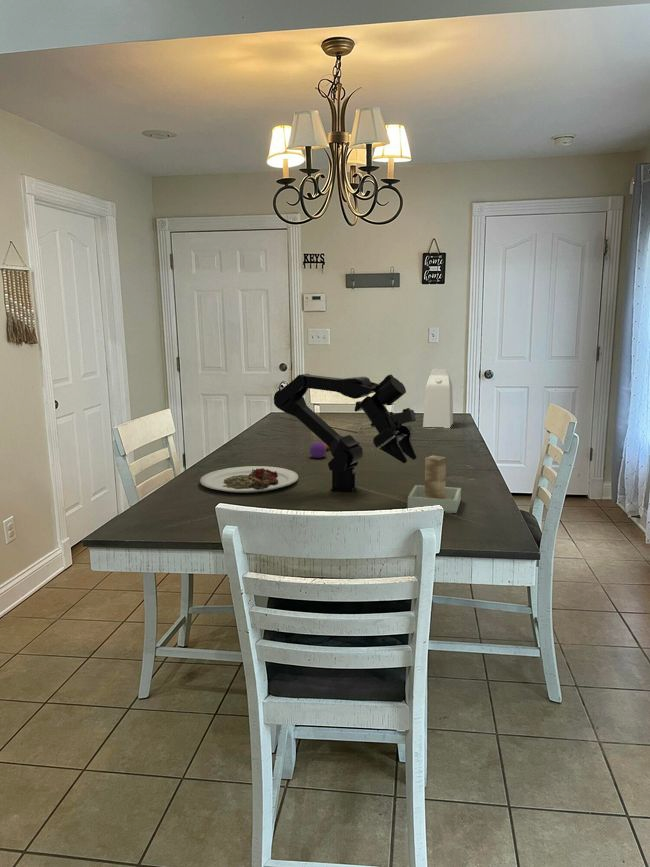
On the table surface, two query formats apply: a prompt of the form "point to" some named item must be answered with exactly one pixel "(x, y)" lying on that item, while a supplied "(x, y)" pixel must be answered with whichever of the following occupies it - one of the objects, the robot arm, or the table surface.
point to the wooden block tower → (435, 477)
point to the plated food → (249, 479)
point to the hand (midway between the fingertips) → (410, 460)
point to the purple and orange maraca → (318, 449)
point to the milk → (438, 400)
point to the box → (435, 499)
